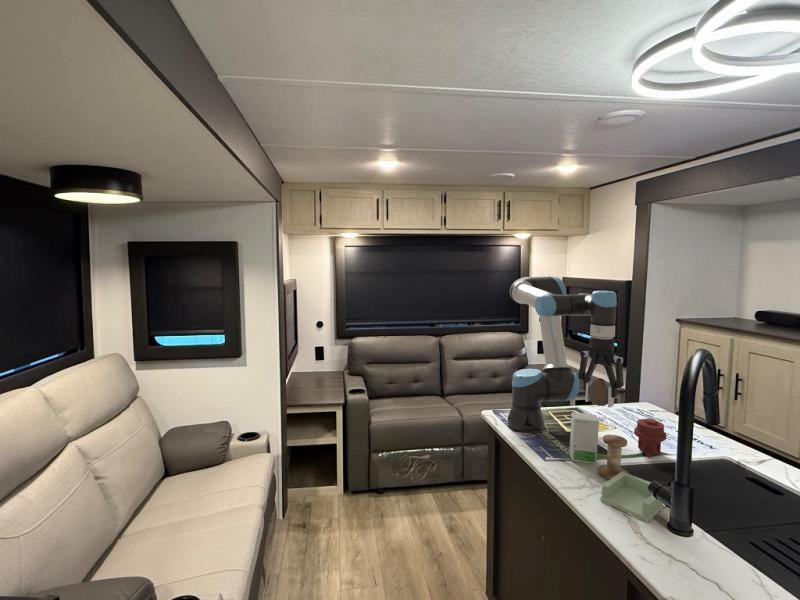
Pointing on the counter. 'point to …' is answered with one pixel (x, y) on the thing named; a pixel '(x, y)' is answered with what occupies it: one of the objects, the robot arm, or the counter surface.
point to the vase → (599, 392)
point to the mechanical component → (650, 436)
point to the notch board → (631, 496)
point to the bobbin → (612, 457)
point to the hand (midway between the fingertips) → (599, 403)
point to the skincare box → (584, 438)
